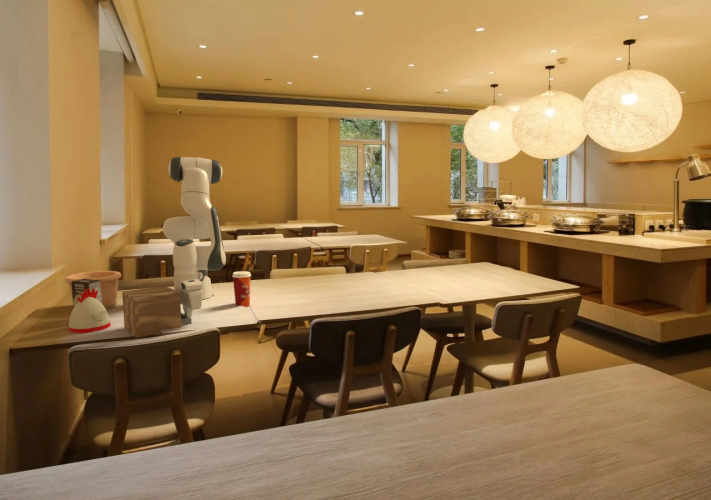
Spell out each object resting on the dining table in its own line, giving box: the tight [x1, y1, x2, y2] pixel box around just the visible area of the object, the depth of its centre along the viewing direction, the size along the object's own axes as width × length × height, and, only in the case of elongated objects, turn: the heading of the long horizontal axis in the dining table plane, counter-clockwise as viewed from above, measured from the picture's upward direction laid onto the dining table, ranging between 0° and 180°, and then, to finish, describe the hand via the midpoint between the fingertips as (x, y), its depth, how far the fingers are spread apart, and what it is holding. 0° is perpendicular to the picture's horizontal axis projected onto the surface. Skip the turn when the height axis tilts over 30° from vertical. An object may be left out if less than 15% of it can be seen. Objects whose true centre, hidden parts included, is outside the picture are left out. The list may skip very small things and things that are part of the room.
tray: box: [181, 312, 192, 326], centre depth 188 cm, size 12×15×3 cm
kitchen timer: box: [68, 288, 111, 334], centre depth 186 cm, size 14×14×15 cm
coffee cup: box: [231, 270, 252, 308], centre depth 219 cm, size 8×8×15 cm
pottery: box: [64, 270, 122, 310], centre depth 219 cm, size 22×22×14 cm
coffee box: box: [71, 279, 102, 308], centre depth 197 cm, size 9×6×16 cm
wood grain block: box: [121, 285, 183, 339], centre depth 184 cm, size 16×16×14 cm
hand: (188, 316), depth 193 cm, fingers closed
